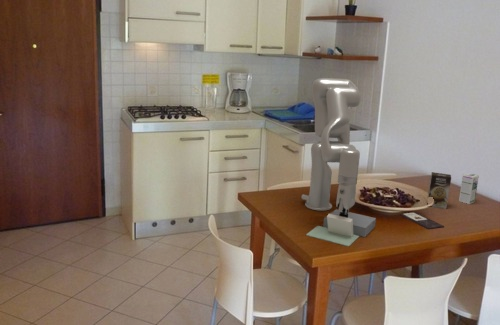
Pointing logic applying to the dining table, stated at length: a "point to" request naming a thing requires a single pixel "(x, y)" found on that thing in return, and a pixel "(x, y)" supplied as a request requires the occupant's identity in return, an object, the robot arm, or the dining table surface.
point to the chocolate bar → (422, 220)
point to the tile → (340, 225)
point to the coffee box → (439, 189)
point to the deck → (357, 223)
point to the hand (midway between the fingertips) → (343, 222)
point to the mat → (331, 236)
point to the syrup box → (468, 188)
